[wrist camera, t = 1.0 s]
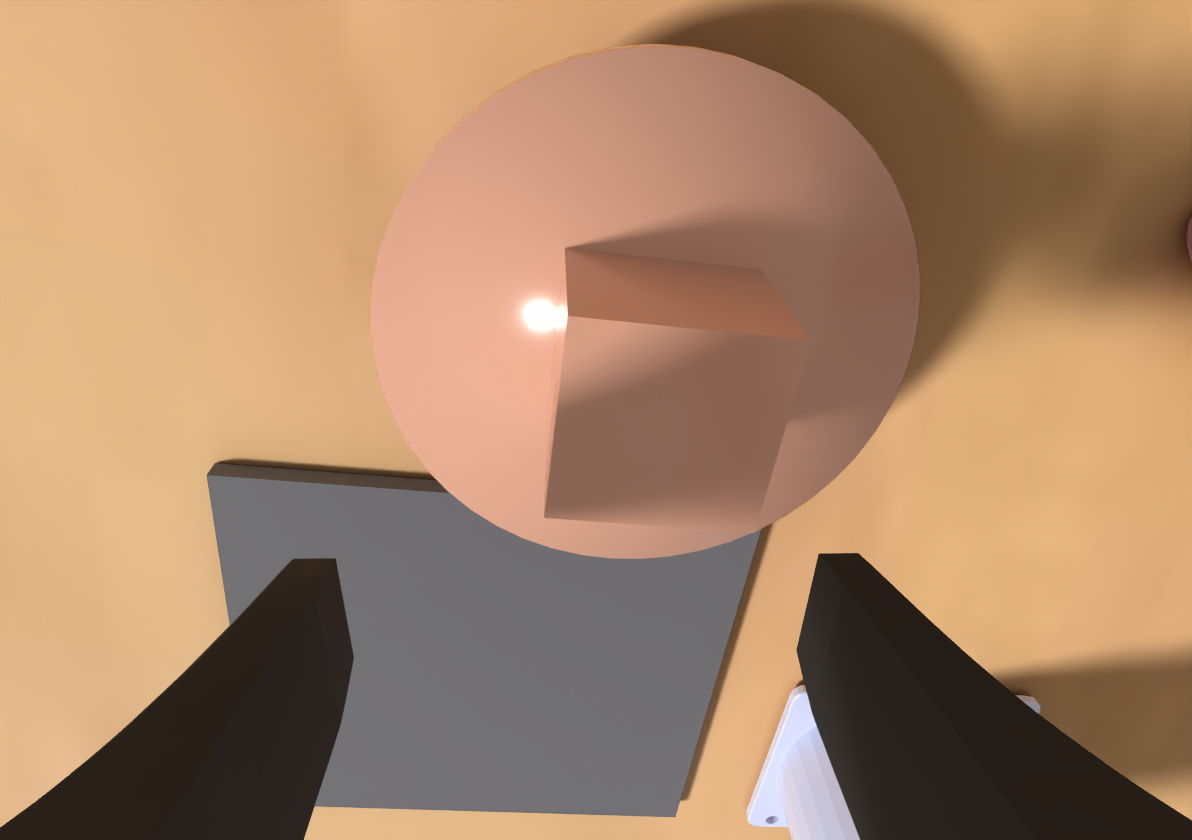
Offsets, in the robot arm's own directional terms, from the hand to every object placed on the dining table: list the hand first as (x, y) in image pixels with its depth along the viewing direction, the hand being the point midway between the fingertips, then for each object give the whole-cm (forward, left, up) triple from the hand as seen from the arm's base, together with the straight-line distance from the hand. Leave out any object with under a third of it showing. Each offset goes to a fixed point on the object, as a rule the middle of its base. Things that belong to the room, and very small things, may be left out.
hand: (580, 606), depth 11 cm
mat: (+1, +12, -10) cm, 16 cm away
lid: (-2, -2, -7) cm, 7 cm away
